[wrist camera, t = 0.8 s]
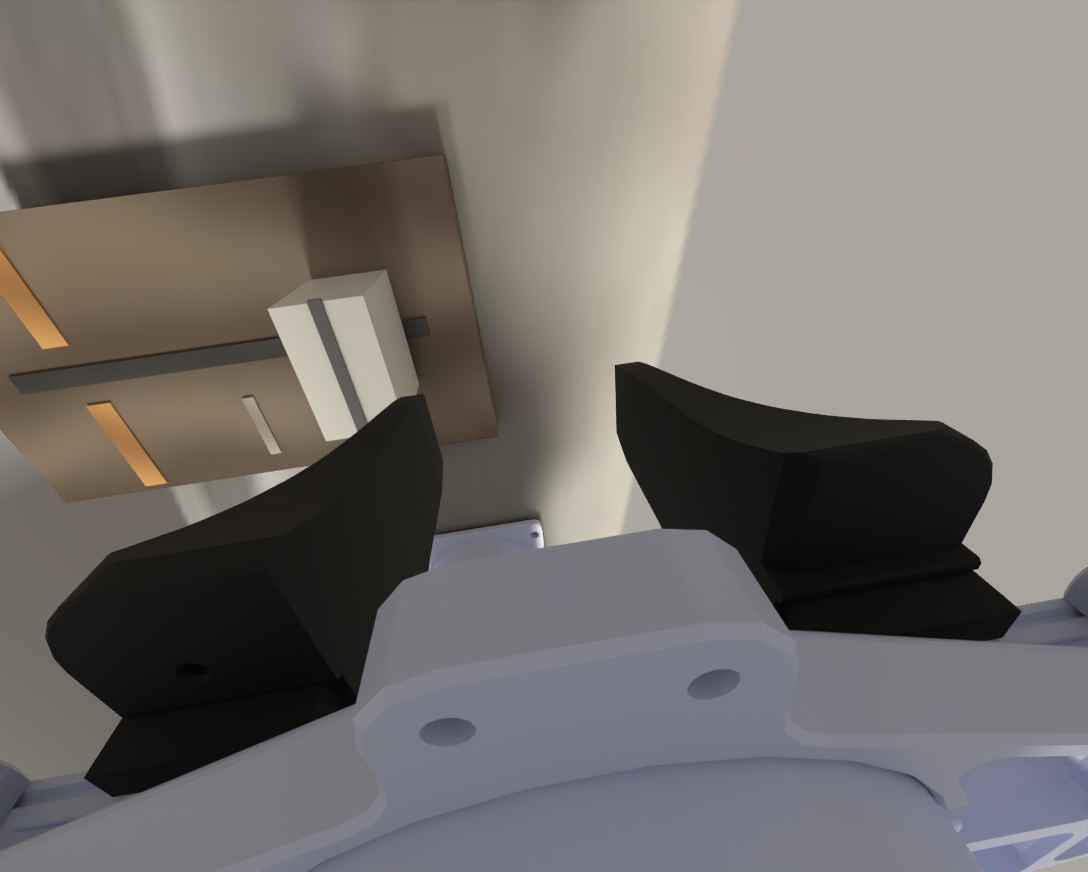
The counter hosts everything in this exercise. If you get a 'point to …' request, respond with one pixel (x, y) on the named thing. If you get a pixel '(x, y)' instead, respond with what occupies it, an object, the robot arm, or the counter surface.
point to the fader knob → (346, 348)
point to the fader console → (218, 322)
